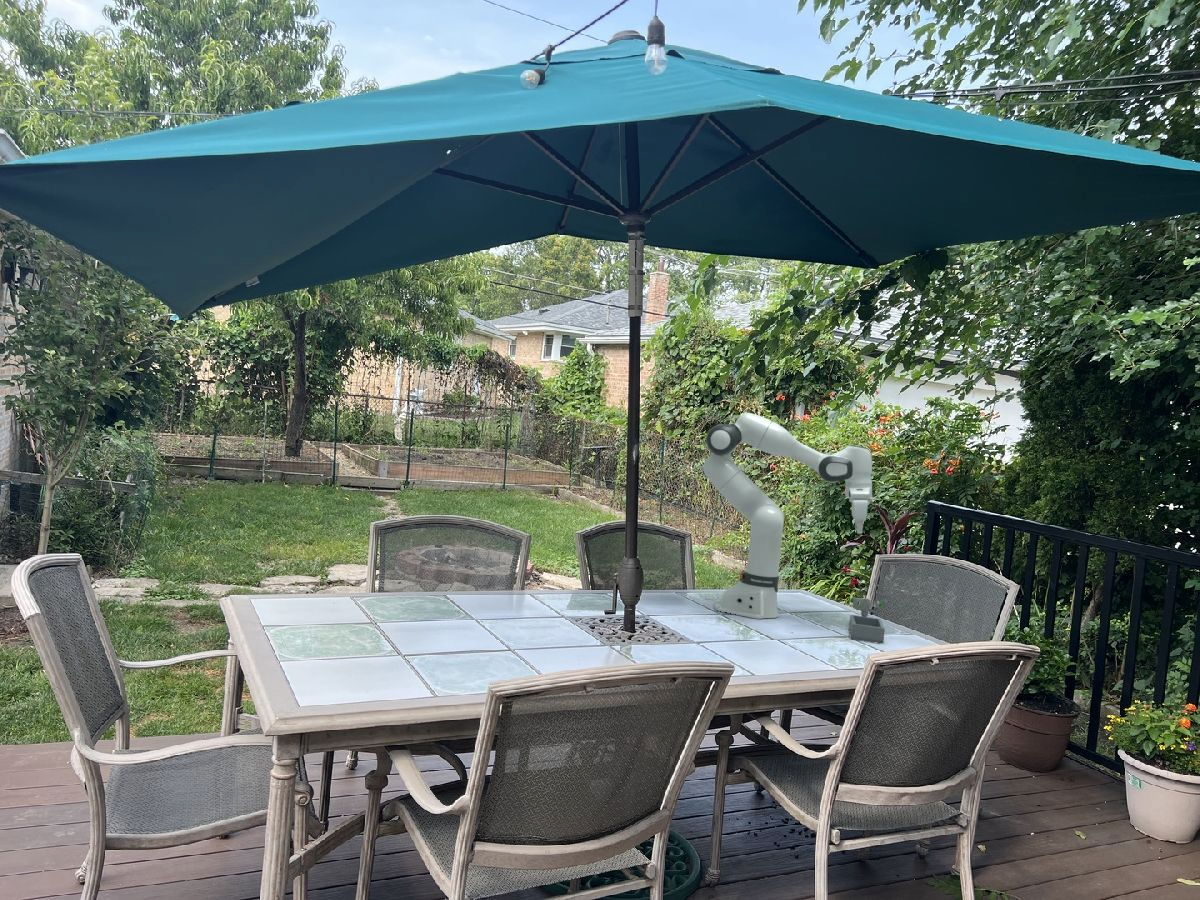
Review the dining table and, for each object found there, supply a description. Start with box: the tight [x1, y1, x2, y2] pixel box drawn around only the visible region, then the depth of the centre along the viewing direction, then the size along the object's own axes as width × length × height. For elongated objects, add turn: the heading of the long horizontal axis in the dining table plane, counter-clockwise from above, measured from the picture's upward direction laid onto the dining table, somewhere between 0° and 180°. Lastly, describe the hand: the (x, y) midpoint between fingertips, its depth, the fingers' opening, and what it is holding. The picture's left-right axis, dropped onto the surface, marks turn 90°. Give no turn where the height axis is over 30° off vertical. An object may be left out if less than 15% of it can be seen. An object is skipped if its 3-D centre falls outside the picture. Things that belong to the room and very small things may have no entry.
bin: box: [848, 614, 886, 644], centre depth 282 cm, size 10×15×5 cm, turn 166°
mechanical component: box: [849, 596, 882, 617], centre depth 295 cm, size 3×10×10 cm, turn 78°
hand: (858, 532), depth 294 cm, fingers open, 8 cm apart
